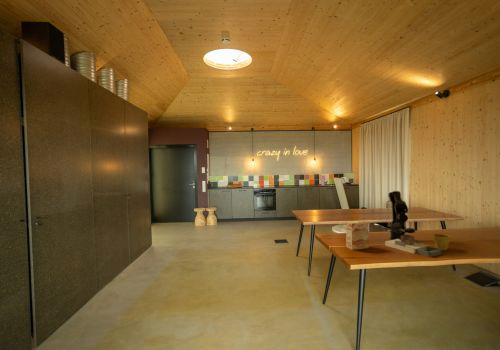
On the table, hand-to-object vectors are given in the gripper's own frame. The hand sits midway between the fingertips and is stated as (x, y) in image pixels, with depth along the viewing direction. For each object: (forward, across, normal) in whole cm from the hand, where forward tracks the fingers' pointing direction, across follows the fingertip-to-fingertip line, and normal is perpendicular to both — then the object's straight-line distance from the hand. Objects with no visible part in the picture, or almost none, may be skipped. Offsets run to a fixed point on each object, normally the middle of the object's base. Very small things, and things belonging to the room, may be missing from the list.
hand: (400, 239), depth 197 cm
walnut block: (+2, +6, 0) cm, 6 cm away
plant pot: (+5, +18, +19) cm, 27 cm away
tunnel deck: (+5, +9, 0) cm, 10 cm away
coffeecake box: (+5, -12, -32) cm, 35 cm away
